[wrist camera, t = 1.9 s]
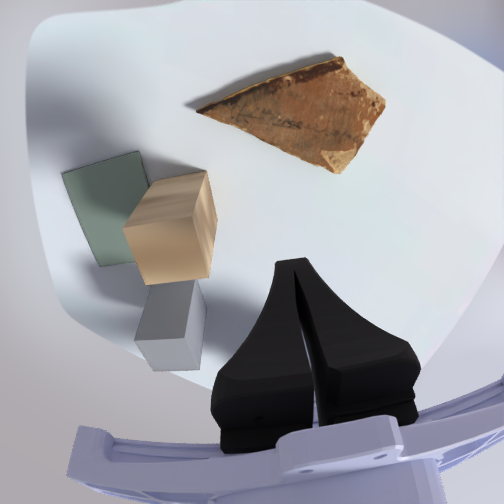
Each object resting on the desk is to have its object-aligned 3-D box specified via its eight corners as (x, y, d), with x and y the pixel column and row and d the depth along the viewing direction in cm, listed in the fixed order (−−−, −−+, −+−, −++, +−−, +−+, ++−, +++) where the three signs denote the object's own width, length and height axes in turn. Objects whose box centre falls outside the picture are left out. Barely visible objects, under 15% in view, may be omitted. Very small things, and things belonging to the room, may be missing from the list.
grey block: (206, 308, 29) (199, 369, 23) (167, 312, 29) (153, 371, 23) (195, 275, 26) (184, 338, 21) (153, 280, 27) (133, 340, 21)
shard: (198, 109, 19) (194, 112, 18) (247, 12, 15) (248, 8, 14) (334, 173, 22) (341, 182, 20) (385, 89, 18) (396, 92, 17)
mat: (171, 254, 25) (170, 256, 25) (101, 264, 26) (99, 266, 25) (138, 151, 20) (137, 152, 20) (63, 173, 21) (61, 175, 20)
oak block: (217, 219, 23) (209, 277, 18) (168, 227, 24) (145, 285, 18) (206, 170, 21) (191, 216, 15) (154, 180, 21) (122, 228, 16)
